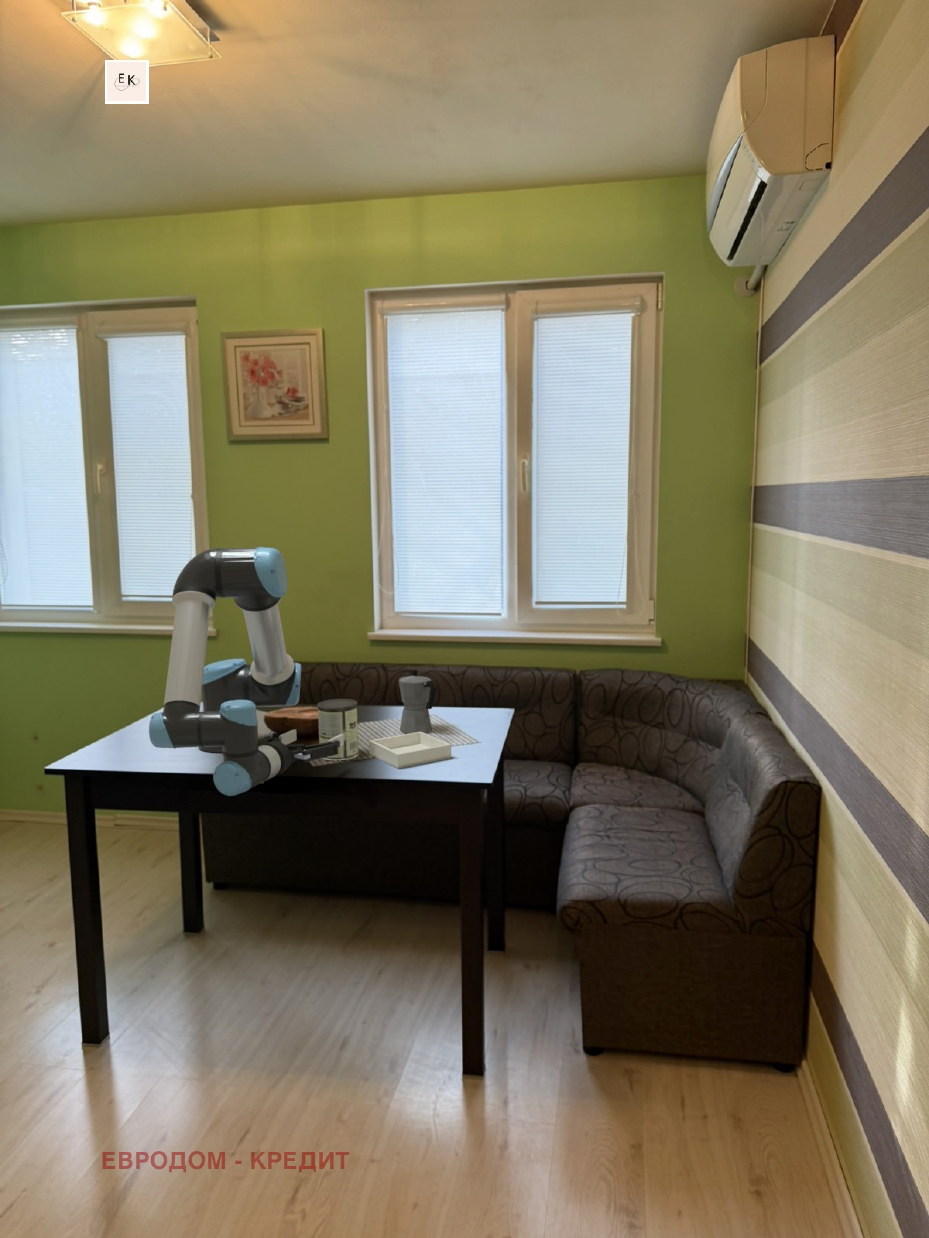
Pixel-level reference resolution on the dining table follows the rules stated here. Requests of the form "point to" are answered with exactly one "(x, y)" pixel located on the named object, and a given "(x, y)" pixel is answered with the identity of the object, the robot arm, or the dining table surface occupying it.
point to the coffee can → (339, 726)
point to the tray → (409, 749)
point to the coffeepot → (416, 703)
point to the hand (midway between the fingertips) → (318, 736)
